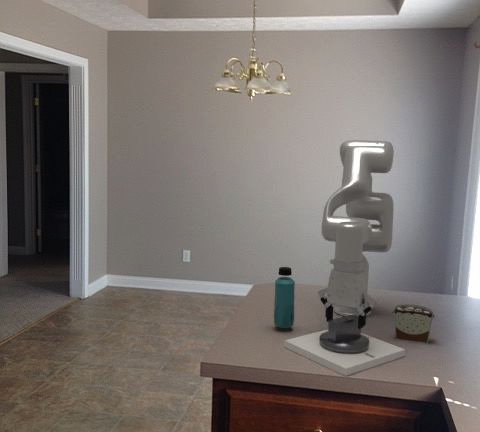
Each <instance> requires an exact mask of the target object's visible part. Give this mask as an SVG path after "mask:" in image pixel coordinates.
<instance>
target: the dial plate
mask: <svg viewBox="0 0 480 432" xmlns="http://www.w3.org/2000/svg"><path fill="white" fill-rule="evenodd" d="M325 332H328V329H324V330H320V331H317V332H312V333H308V334H303V335H301V336H296V337H292V338H289V339H285V340H284V346H283V347H284V348H286V349H287V350H290V351H292V352H294V353H296V354H299V355H300V356H303V357H304V358H306V359H309V360H311V361H313V362H315V363H316V364H320V365H322V366H323V367H325V368H327V369H330V370H332V371H334V372H336V373H338V374H341V375H342V376H345V377H347V376H351V375H353V374H356V373H358V372H362V371H365V370H369V369H371V368H373V367H377V366H380V365H382V364H386V363H389V362H392V361H395V360H398V359H400V358H403V357H405V354H406V348H403V347H400V346H397V345H394V344H391V343H388V342H386V341H384V340H382V339H378V338H375V337H373V336H370V335H368V334H365V333H363V332H361V334H362V335H364V336H366V337H367V338H368V339H369V348H368V350H366V351H364V352H361V353H354V354H347V353H338V352H333V351H330V350H327V349H325V348H323V347H322V346H321V345H320V344H319V338H320V335H321V334H322V333H325Z"/></svg>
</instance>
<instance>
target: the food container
mask: <svg viewBox="0 0 480 432" xmlns="http://www.w3.org/2000/svg"><path fill="white" fill-rule="evenodd" d="M392 315H394V333H395V341H403V342H404V341H405V342H410V343H411V342H412V343H418V344H426V345H428V344H429V339H430V335H431V334H430V333H431V328H432V322H433V319H434V320H436V317H435V313H434V310H433V309H431V308H429V307H426V306H424V305H419V304H413V303H412V304H409V303H408V304H407V303H405V304H396V305H395V306H394V308H393V310H392Z"/></svg>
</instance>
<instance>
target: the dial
mask: <svg viewBox="0 0 480 432" xmlns="http://www.w3.org/2000/svg"><path fill="white" fill-rule="evenodd" d="M358 317H359V316H357V315H354V314H353V315H349V316H342V317H341V316H340V317H335V318H333V319H331V320H329V322H328V325H327V328H328V332H325V333H322V334H321V335H320V338H319V344H320V345H321V346H322V347H323V348H325V349H327V350H330V351H333V352H338V353H347V354H354V353H361V352H364V351H366V350H368V348H369V339H368V338H367V337H366V336H364V335H362V334H361V333H362V329H359V328H358Z"/></svg>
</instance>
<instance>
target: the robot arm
mask: <svg viewBox="0 0 480 432" xmlns="http://www.w3.org/2000/svg"><path fill="white" fill-rule="evenodd" d="M394 152H395V151H394V146H393V145H392V143H391V141H385V140H362V139H359V140H358V139H357V140H356V139H355V140H346V141H344V142H342V143H341V144H340V146H339V157H340V161H341V164H342V167H343V170H342V179H341V187H339V188H338V189H337V190H335V192H333V194H331V195H330V196H329V198H328V200H327V201H326V203H325V205H324V207H323V214H322V221H321V236H322V237H323V239H324V240H325V241H327V242H333V243H335V244H334V246H335V247H334V258H333V259H332V258H331V259H330V261H329V264H331V265H333V268H331V269H330V274H329V276H328V284H327V287H325V288H322V289H320V290H318V291H317V294H318V297H319V298H320V299H319V300H320V302H321V303H322V305H323V307H324V308H325V314H324V315H325V316H324V317H325V318H326V322H327V323H329V320H331V319H334V312H335V313H336V314H337V315H340V316H342V317H345V316H349V315H353V314H354V315H357V316H359V317H358V328H359V329H361V330H362V329H363V328H364V327H365V326H366V325H367V317H369V316H370V315H371V313H372V310H373V308H375V306H376V305H377V300H376V299H374V297H372V296H370V295H369V294H368V290H369V270H370V265H369V264H370V263H369V261H368V258H367V257H366V256H365V255H364V253H363V252H368V253H369V252H370V253H387V252H388V253H389V251H390V250H391V248H392V244H393V231H394V229H393V228H394V227H393V226H394V200H393V197H392V195H391V194H388V193H386V192H375V191H373V190H372V189H373V177H372V174H389V172H390V171H391V170H392V167H393V162H394V156H395V155H394V154H395V153H394ZM344 205H345V214H346V216H339V215H338V216H336V215H334V213H335V212H336V211H337V209H339V208H340V207H342V206H344ZM370 221H377V222H379V224H376V223H371V222H370ZM333 305H335V306H333Z"/></svg>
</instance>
